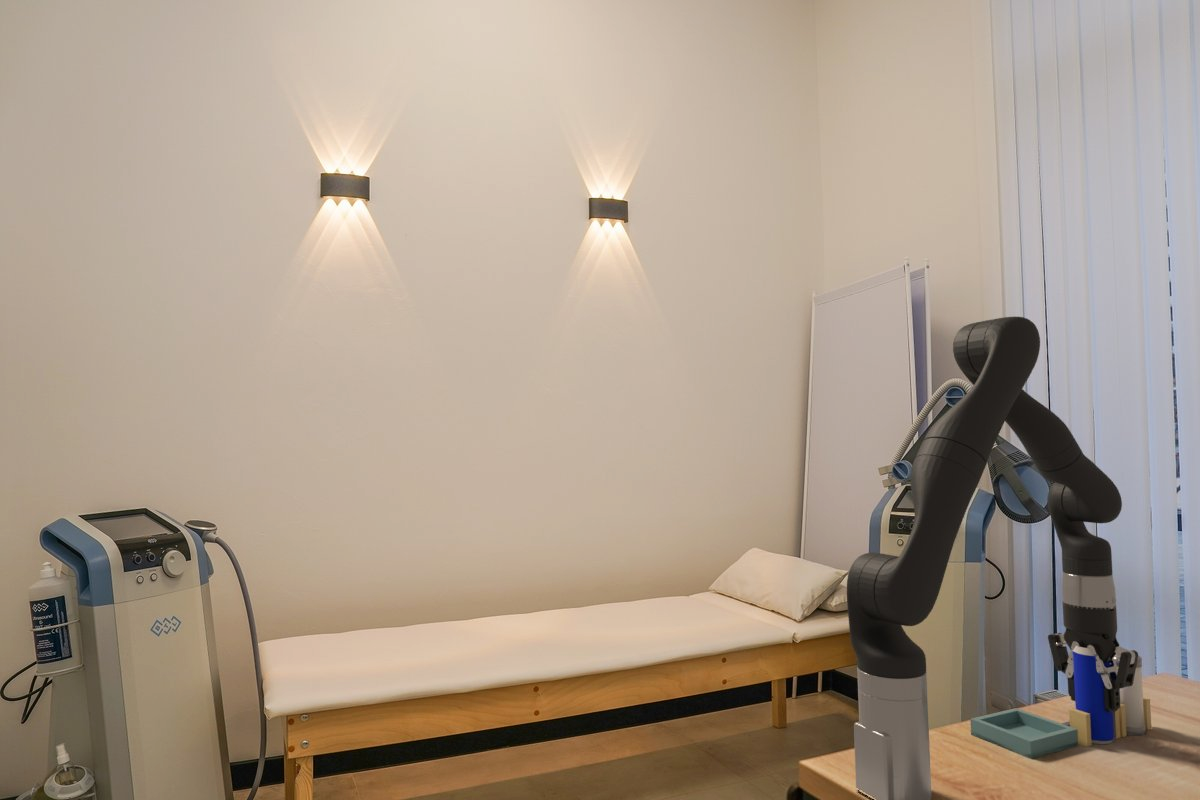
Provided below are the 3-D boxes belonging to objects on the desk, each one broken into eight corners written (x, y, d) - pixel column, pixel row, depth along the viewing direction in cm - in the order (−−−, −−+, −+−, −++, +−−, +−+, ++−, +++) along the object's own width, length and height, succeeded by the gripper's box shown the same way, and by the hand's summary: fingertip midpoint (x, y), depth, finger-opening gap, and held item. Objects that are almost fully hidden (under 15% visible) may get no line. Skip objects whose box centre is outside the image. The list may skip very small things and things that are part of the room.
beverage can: (1103, 733, 129) (1098, 641, 130) (1121, 745, 124) (1115, 650, 125) (1071, 732, 130) (1066, 641, 131) (1087, 745, 125) (1081, 650, 126)
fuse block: (1085, 747, 124) (1084, 715, 124) (1052, 734, 129) (1050, 704, 130) (1151, 728, 131) (1149, 698, 131) (1117, 718, 136) (1115, 689, 136)
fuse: (1134, 737, 128) (1130, 661, 128) (1105, 727, 132) (1101, 654, 132) (1152, 732, 129) (1148, 657, 130) (1123, 723, 134) (1119, 651, 134)
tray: (1031, 758, 120) (1030, 741, 120) (971, 734, 130) (970, 718, 130) (1078, 745, 125) (1077, 729, 125) (1016, 723, 135) (1016, 708, 135)
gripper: (1033, 595, 133) (1038, 696, 132) (1118, 611, 120) (1124, 724, 119) (1062, 591, 136) (1067, 689, 135) (1148, 606, 123) (1154, 715, 122)
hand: (1094, 705), depth 127 cm, fingers closed on beverage can, 5 cm apart
